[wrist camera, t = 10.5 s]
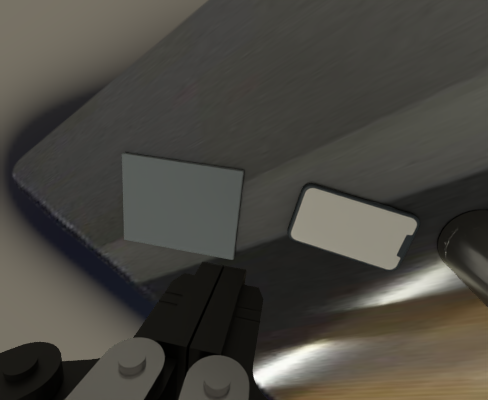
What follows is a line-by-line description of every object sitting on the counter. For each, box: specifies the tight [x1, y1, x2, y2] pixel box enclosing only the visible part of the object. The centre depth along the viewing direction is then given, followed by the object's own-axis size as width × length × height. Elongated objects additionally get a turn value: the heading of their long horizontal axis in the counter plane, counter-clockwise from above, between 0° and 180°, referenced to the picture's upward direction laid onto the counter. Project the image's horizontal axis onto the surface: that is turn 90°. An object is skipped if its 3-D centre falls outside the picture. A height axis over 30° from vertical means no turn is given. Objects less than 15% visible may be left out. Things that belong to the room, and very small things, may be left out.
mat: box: [122, 153, 244, 260], centre depth 43 cm, size 18×14×1 cm
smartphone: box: [288, 183, 420, 272], centre depth 40 cm, size 9×2×16 cm
